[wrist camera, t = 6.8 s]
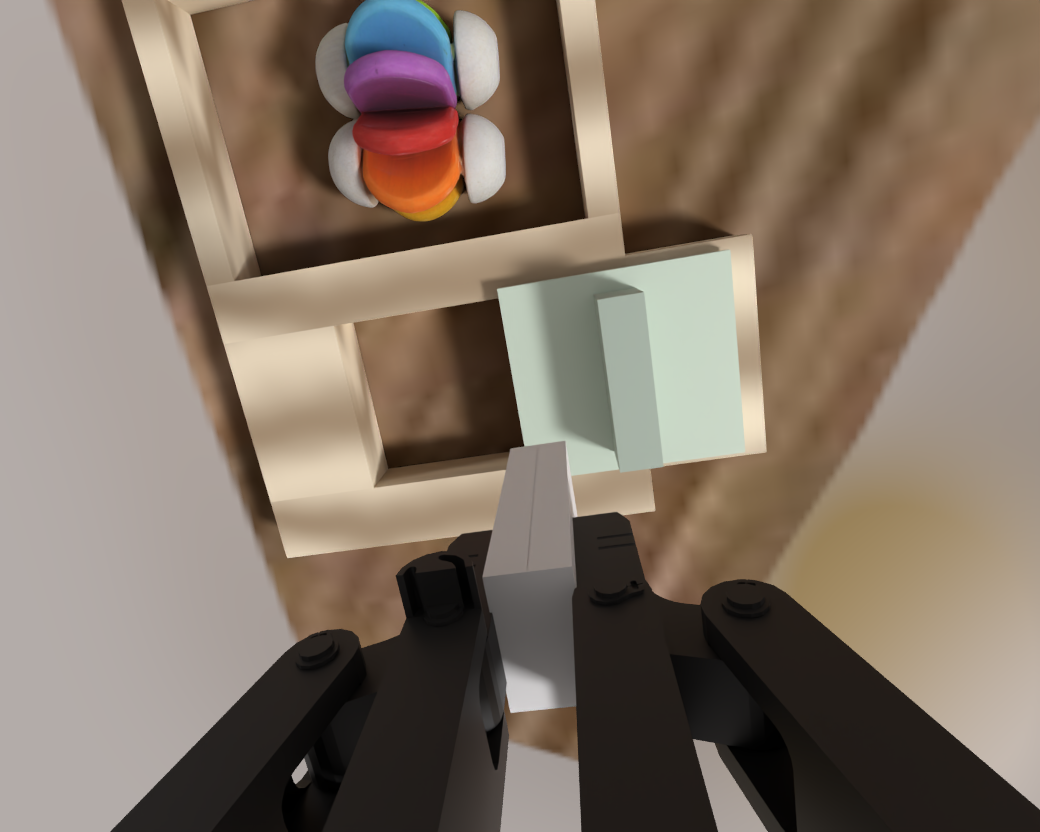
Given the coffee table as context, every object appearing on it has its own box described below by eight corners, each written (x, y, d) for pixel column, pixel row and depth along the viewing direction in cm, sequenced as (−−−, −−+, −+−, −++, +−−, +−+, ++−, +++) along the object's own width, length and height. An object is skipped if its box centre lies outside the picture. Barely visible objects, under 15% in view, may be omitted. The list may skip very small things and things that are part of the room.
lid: (498, 288, 30) (490, 293, 26) (726, 249, 28) (750, 249, 25) (530, 477, 32) (527, 505, 29) (741, 448, 31) (765, 473, 28)
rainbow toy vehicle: (354, 227, 33) (299, 221, 26) (329, 23, 30) (260, -45, 23) (511, 217, 32) (499, 209, 25) (499, 8, 29) (481, -66, 22)
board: (152, -14, 30) (109, -41, 27) (707, -143, 27) (725, -189, 24) (307, 534, 38) (287, 558, 35) (751, 475, 35) (769, 496, 32)
